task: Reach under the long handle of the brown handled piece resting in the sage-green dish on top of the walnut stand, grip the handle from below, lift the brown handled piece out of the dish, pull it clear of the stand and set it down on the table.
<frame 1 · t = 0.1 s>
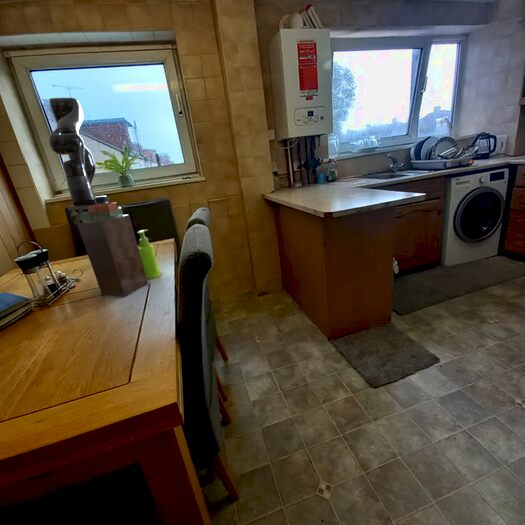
hand: (93, 231, 109), 22 cm above the table, tool pointing down, fingers open, 8 cm apart
brown handled piece: (105, 215, 99), point 29 cm above the table, touching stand
soap dispenser: (153, 275, 120), on the table
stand: (125, 288, 110), on the table
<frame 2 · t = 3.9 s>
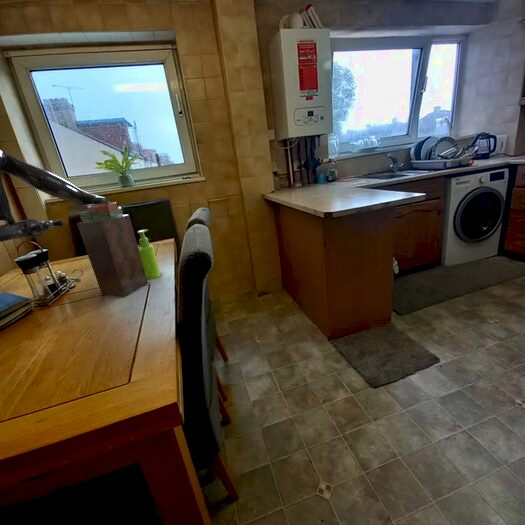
hand: (52, 225, 110), 26 cm above the table, tool horizontal, fingers open, 8 cm apart
nothing on the table moved.
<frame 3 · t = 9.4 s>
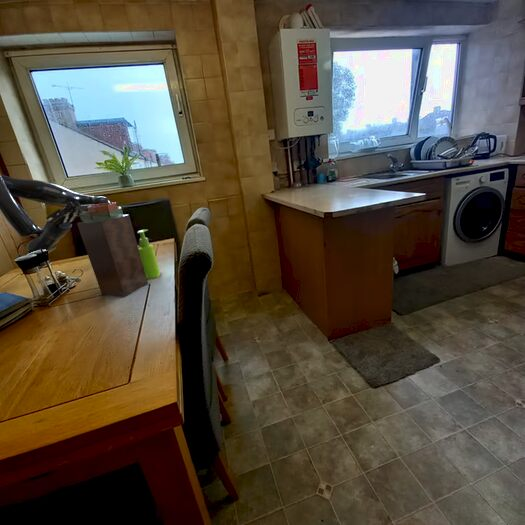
hand: (75, 203, 102), 34 cm above the table, tool pointing upward, fingers closed on brown handled piece, 2 cm apart
brown handled piece: (105, 215, 99), point 29 cm above the table, touching gripper
everything else where it was.
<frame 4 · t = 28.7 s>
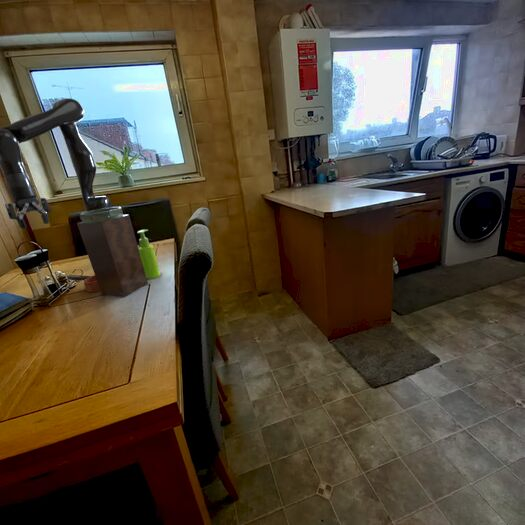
hand: (36, 226, 115), 26 cm above the table, tool pointing down, fingers open, 8 cm apart
brown handled piece: (99, 286, 114), on the table
everything else where it was.
at the end: brown handled piece inside the target area (0.2 cm from its centre), on the table; brown handled piece tilted 0°; the gripper is holding nothing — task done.
